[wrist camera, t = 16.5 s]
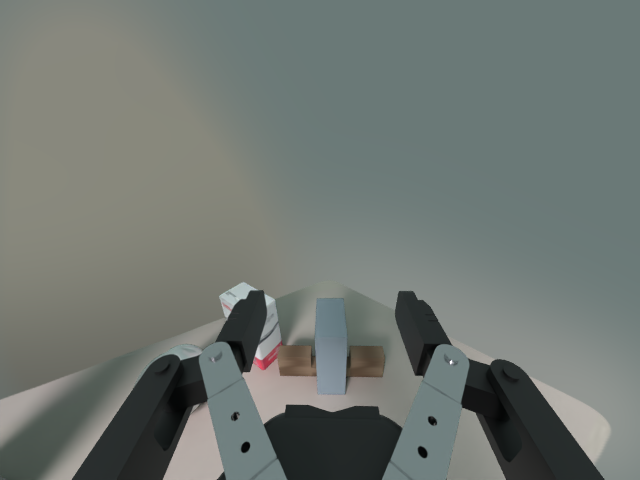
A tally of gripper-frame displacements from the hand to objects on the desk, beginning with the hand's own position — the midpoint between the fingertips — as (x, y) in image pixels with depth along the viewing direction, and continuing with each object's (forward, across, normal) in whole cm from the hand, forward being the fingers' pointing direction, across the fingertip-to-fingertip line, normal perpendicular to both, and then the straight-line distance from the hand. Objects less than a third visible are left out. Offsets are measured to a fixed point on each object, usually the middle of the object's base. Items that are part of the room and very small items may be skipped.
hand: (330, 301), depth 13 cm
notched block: (+12, 0, +26) cm, 29 cm away
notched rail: (+12, 0, +26) cm, 29 cm away
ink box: (+16, +13, +26) cm, 34 cm away
